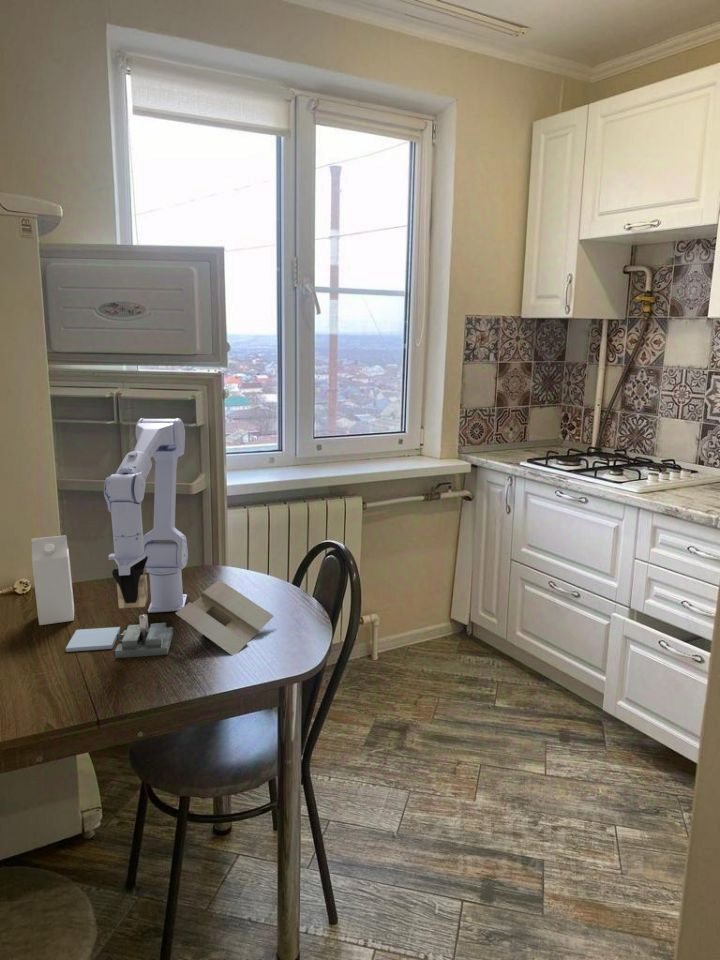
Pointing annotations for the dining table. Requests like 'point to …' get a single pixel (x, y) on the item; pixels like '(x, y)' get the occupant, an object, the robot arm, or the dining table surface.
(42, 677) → the dining table surface
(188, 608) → the beige slotted board
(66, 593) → the milk carton
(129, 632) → the vise
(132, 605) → the wooden cube
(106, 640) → the mat
